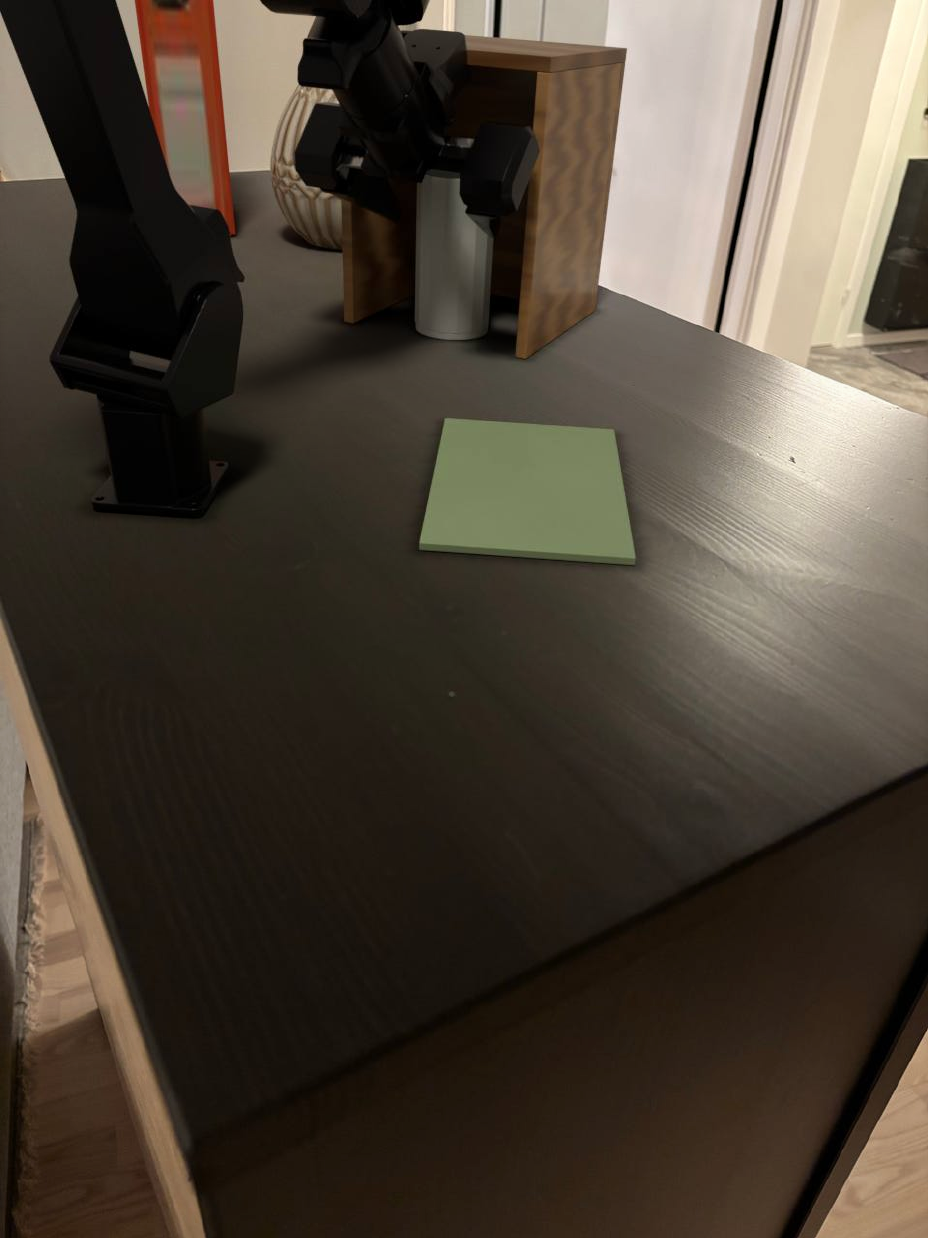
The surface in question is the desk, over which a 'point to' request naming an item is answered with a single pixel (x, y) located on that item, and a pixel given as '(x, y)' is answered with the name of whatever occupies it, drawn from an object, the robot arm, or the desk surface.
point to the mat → (528, 493)
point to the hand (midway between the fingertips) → (445, 224)
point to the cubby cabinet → (551, 204)
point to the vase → (300, 203)
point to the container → (450, 263)
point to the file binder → (187, 98)
